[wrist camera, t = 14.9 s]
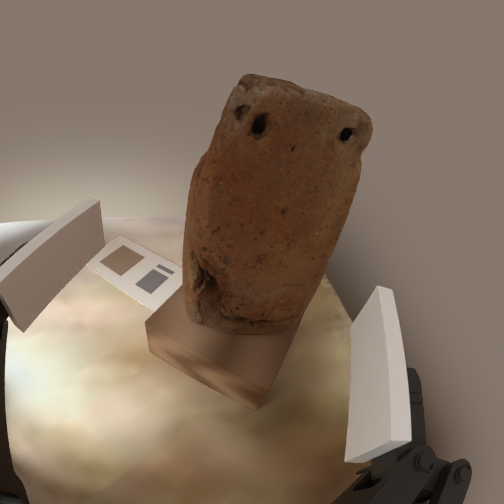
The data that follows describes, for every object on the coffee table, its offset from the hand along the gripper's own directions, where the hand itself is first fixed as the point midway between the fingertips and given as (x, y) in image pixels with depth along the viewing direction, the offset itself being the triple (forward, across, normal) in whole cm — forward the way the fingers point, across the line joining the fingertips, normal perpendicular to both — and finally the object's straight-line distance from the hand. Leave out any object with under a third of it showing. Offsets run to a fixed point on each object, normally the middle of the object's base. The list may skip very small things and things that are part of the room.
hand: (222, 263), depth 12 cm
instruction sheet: (+14, -14, -17) cm, 26 cm away
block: (+9, 0, -12) cm, 15 cm away
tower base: (+9, 0, -17) cm, 19 cm away
